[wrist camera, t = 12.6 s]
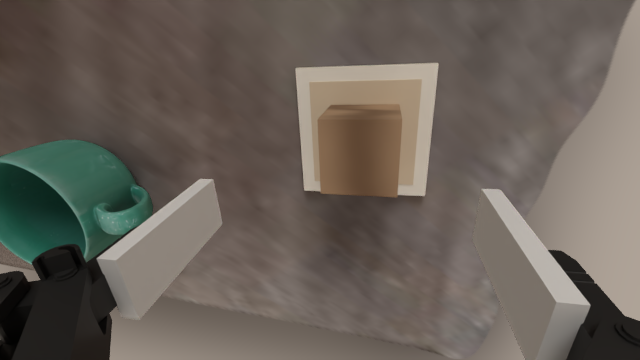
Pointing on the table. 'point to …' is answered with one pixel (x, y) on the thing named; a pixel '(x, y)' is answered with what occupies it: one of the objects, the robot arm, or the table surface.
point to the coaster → (371, 88)
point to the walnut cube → (360, 149)
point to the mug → (67, 199)
